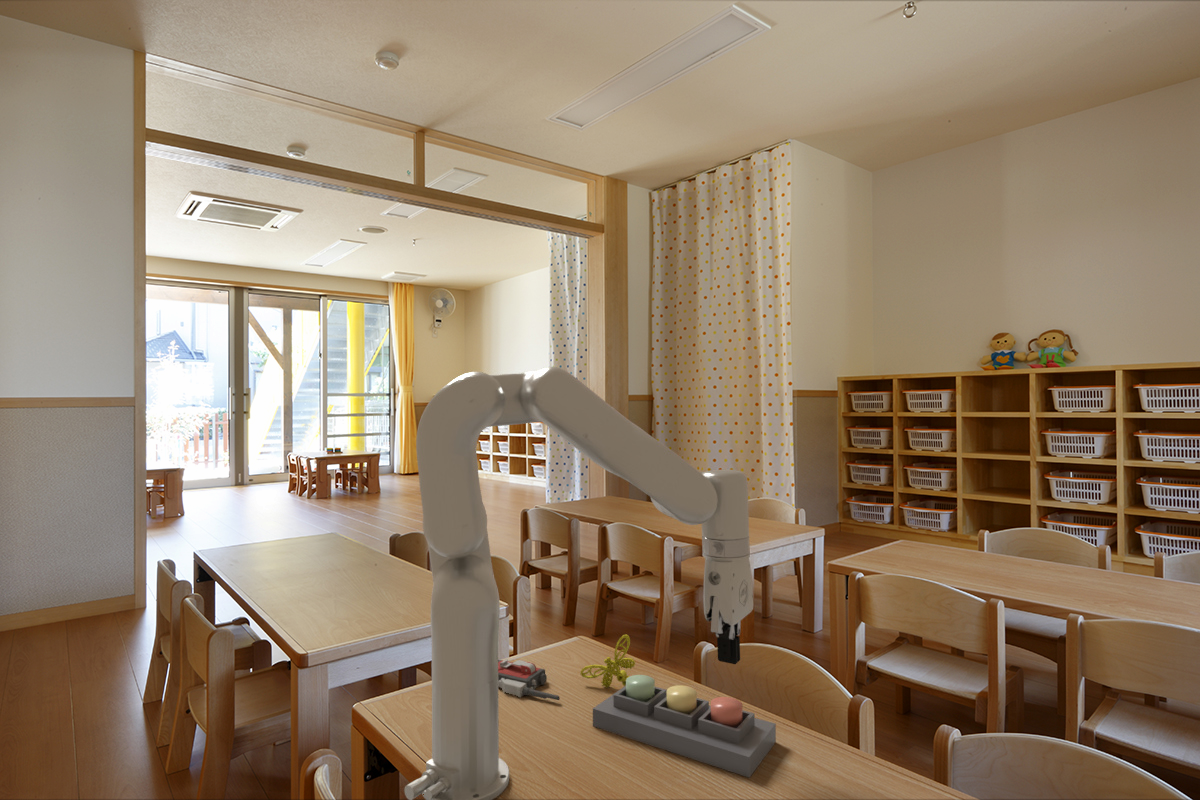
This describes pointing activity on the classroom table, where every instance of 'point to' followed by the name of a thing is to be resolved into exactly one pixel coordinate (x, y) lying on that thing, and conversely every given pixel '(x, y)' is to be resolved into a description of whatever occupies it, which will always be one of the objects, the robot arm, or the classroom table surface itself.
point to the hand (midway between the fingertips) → (729, 660)
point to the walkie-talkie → (522, 679)
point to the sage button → (640, 687)
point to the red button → (726, 711)
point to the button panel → (688, 731)
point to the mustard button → (682, 699)
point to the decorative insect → (613, 666)
